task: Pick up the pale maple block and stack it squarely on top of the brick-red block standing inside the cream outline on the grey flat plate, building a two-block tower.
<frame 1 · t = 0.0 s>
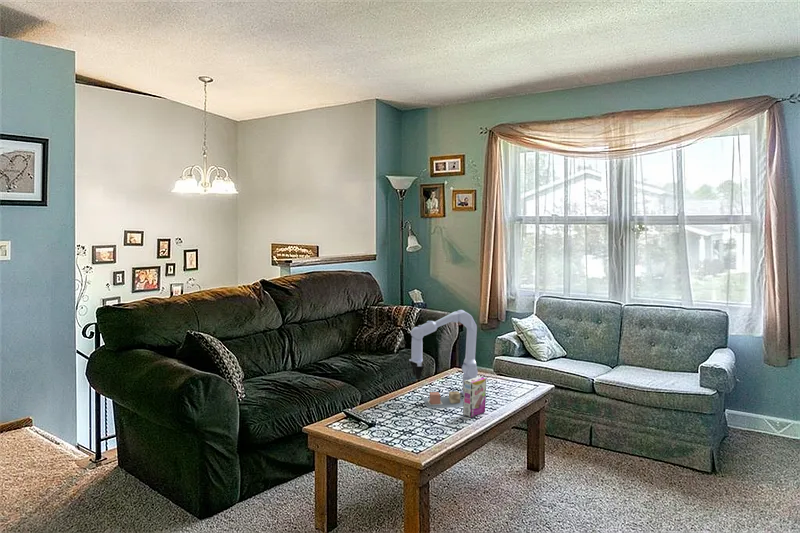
hand: (416, 376, 283), 10 cm above the table, tool pointing down, fingers open, 7 cm apart
brick-red base block: (434, 402, 273), resting on grey flat plate
grey flat plate: (444, 402, 274), on the table
candy bar box: (474, 414, 258), on the table
maple block: (454, 401, 274), resting on grey flat plate
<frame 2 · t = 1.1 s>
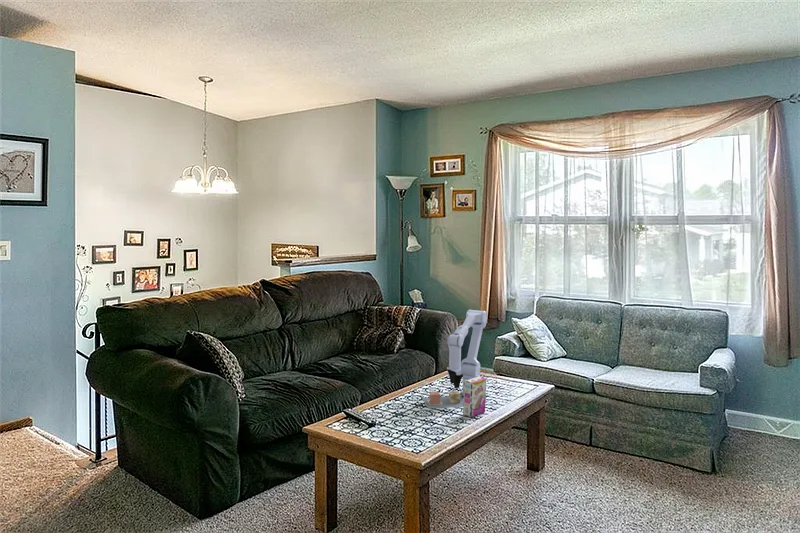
hand: (454, 385, 274), 8 cm above the table, tool pointing down, fingers open, 7 cm apart
nothing on the table moved.
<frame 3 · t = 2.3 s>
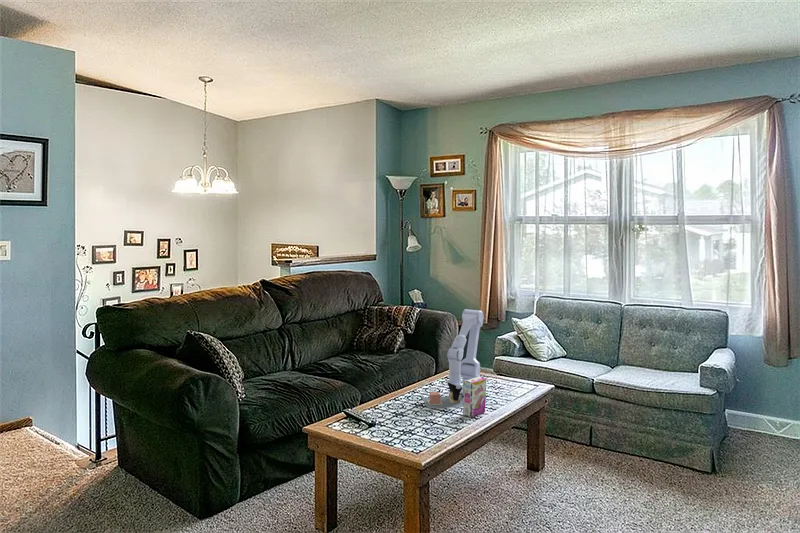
hand: (454, 398, 274), 2 cm above the table, tool pointing down, fingers closed on maple block, 4 cm apart
maple block: (454, 401, 274), resting on grey flat plate, touching gripper
everything else where it was.
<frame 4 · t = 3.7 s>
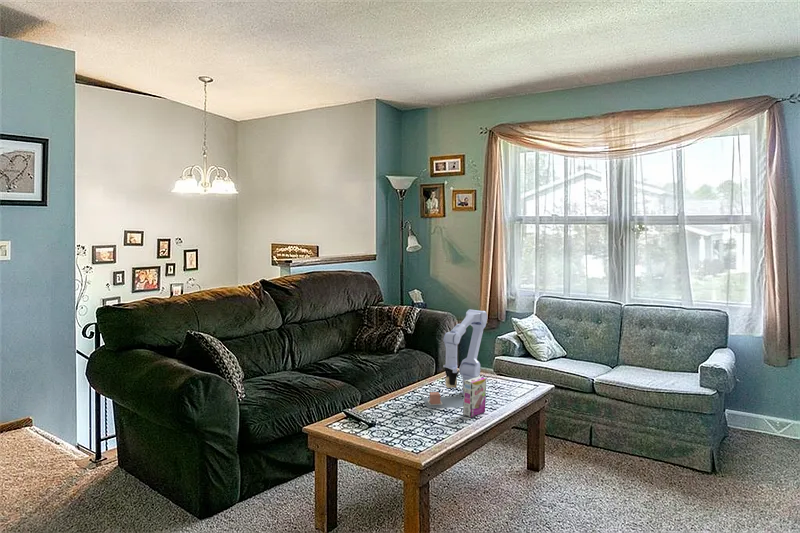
hand: (451, 383, 273), 9 cm above the table, tool pointing down, fingers closed on maple block, 4 cm apart
maple block: (451, 386, 273), point 8 cm above the table, touching gripper
everything else where it was.
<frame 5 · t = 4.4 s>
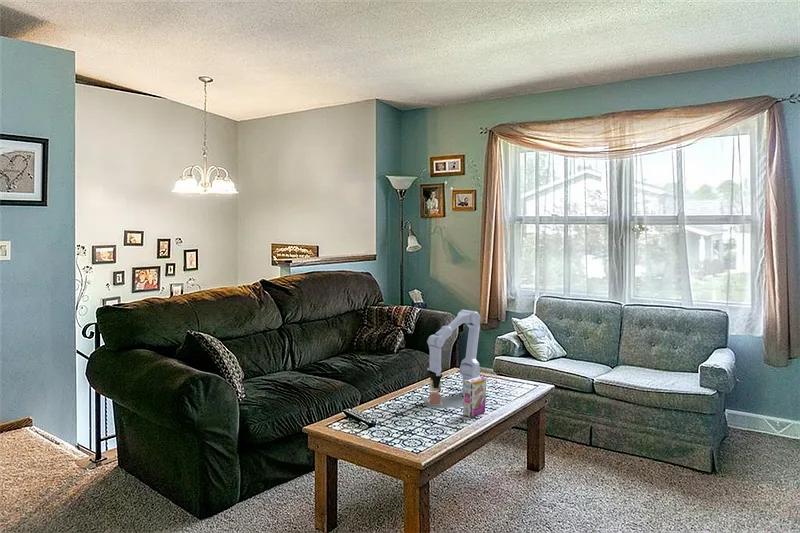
hand: (435, 386, 272), 8 cm above the table, tool pointing down, fingers closed on maple block, 4 cm apart
maple block: (435, 389, 272), point 7 cm above the table, touching gripper
everything else where it was.
when the fingers open (7 cm above the table, at t = 5.0 s): maple block stays where it is, resting on brick-red base block.
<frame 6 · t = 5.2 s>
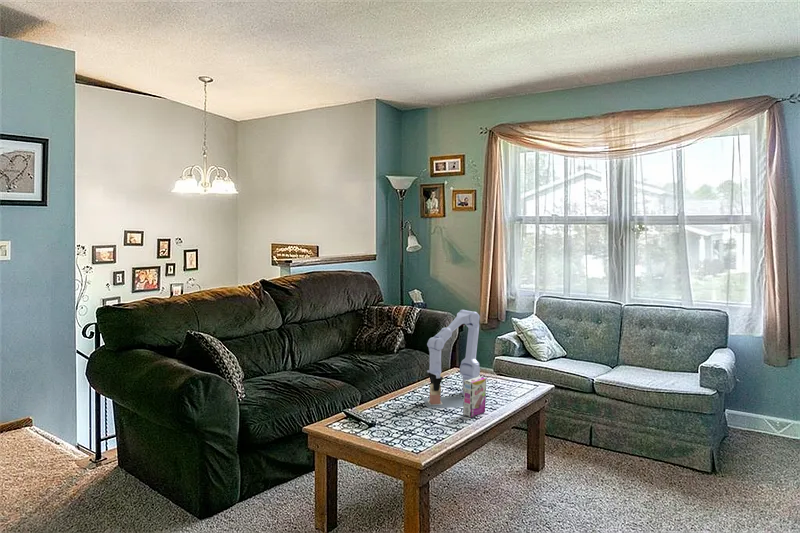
hand: (435, 388, 272), 7 cm above the table, tool pointing down, fingers open, 6 cm apart
brick-red base block: (434, 402, 273), resting on grey flat plate, touching maple block
maple block: (435, 393, 273), point 5 cm above the table, touching brick-red base block
everything else where it was.
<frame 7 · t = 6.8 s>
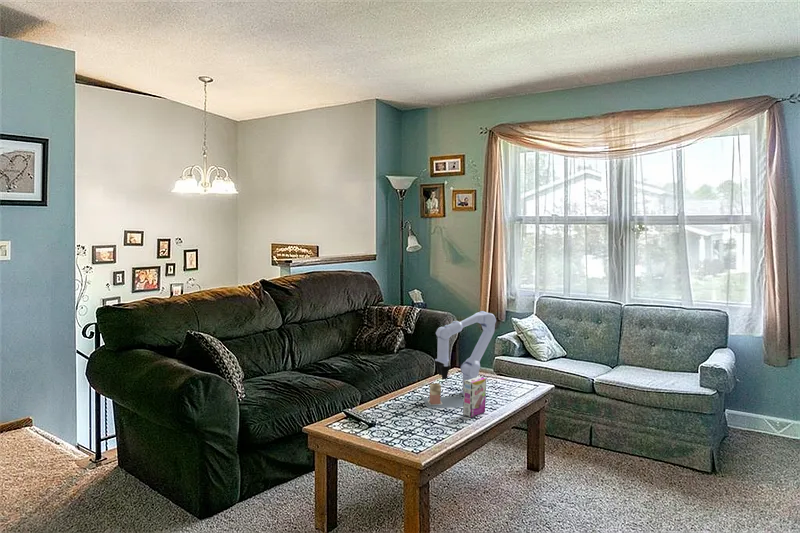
hand: (442, 376, 282), 10 cm above the table, tool pointing down, fingers open, 7 cm apart
nothing on the table moved.
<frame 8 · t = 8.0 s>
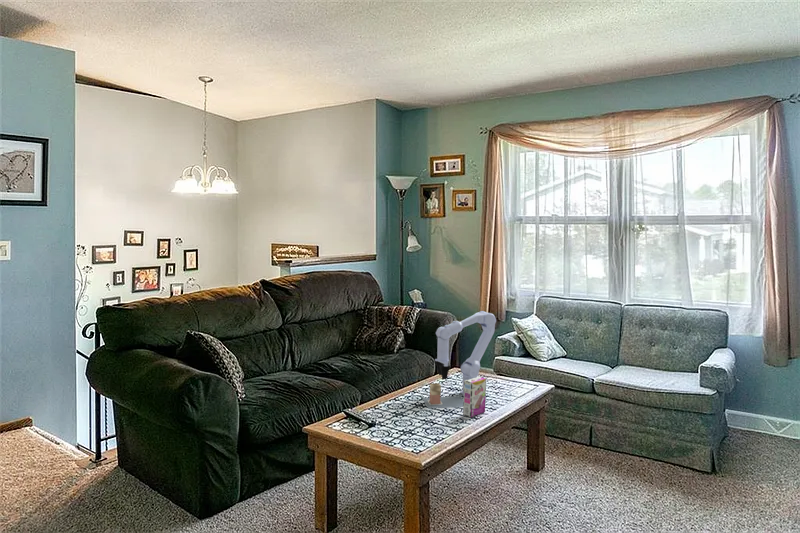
hand: (442, 376, 282), 10 cm above the table, tool pointing down, fingers open, 7 cm apart
nothing on the table moved.
at the end: maple block 0.2 cm from the brick-red base block (horizontally); maple block point 4.7 cm above the table; brick-red base block 0.0 cm from the target spot on the grey flat plate, point 0.2 cm above the grey flat plate's base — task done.
